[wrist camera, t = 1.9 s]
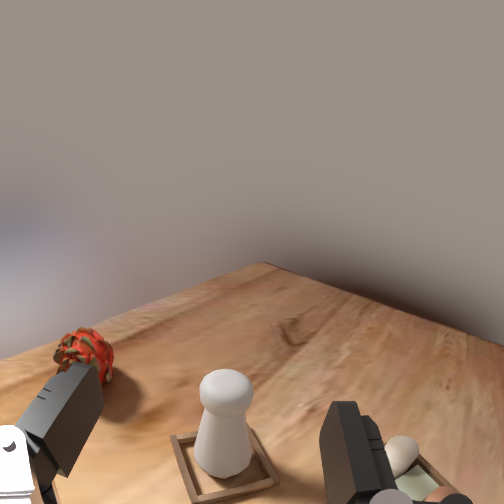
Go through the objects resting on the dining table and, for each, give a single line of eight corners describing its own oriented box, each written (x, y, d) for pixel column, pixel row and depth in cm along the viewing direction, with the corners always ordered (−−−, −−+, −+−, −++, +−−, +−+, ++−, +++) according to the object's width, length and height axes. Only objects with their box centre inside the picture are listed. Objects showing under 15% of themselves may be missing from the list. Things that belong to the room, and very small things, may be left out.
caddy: (374, 470, 26) (408, 420, 23) (430, 530, 16) (482, 488, 13) (332, 492, 23) (362, 445, 20) (388, 562, 14) (441, 530, 11)
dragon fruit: (94, 422, 30) (84, 374, 40) (137, 382, 33) (120, 340, 43) (41, 383, 26) (45, 338, 36) (86, 338, 29) (81, 302, 39)
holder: (245, 426, 32) (246, 421, 32) (278, 484, 25) (280, 480, 24) (170, 440, 29) (169, 435, 29) (192, 506, 21) (192, 502, 21)
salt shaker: (250, 446, 29) (265, 362, 25) (248, 487, 24) (265, 410, 20) (198, 440, 29) (197, 354, 25) (190, 481, 24) (183, 401, 20)
